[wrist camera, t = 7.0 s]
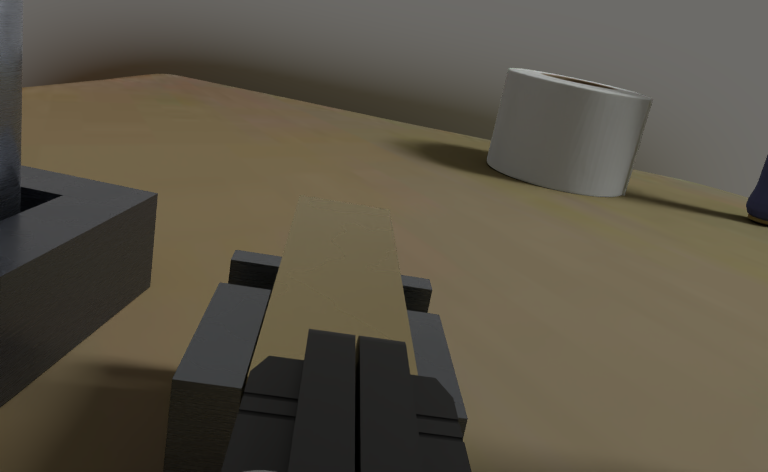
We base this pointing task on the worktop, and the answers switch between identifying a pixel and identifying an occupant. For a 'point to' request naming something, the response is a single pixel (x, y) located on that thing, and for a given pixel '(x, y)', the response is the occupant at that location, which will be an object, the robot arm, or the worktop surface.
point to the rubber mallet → (759, 199)
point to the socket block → (67, 267)
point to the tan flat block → (335, 280)
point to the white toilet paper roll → (567, 133)
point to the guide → (235, 353)
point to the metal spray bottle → (10, 106)
